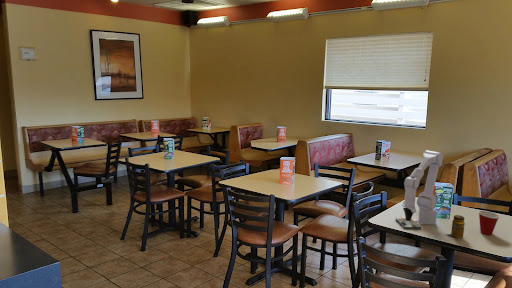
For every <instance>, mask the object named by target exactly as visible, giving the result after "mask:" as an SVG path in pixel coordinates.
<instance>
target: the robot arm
mask: <svg viewBox="0 0 512 288" xmlns="http://www.w3.org/2000/svg"><path fill="white" fill-rule="evenodd" d="M443 160H444V155H443V153H442V152H438V151H434V150H433V151H432V150H425V151H423V154H422V160H421V162H420V164H419V165H418V167H415V168H414V170H413V171H412V172H411V174H410V175H409V176H407V177H406V178H405V179H404V182H403V185H404V190H405V192H404V193H405V194H404V201H402V204H401V206H402V209H403V212H404V215H405V216H404V217H405V218H406V221H410V220H411V219H413V216H414V213H415V214H416V213H417V209H416V205H417V207H418V208H419V209H418V218H415V219H416V220H417V223H418V224H419V225H437V215H438V214H437V209H436V206H437V196H435V194H434V190H435V185H436V183H437V182H436V181H437V177H438V173H439V170H440V169H439V168H440V167H442V165H443ZM428 167H429V169H428V172H427V173H428V174H427V176H426V181H425V184H424V185H425V186H424V189H423V191H422V192H420V193H419V195H418V197H417V199H416V196H417V188H418V187H419V186H420V183H421V182H420V181H421V180H422V178H423V176H424V175H425V172H424V171H425V170H427V168H428Z"/></svg>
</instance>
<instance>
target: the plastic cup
mask: <svg viewBox="0 0 512 288" xmlns="http://www.w3.org/2000/svg"><path fill="white" fill-rule="evenodd" d="M500 218H501V216H500V214H497V213H496V212H492V211H488V210H478V219H479V229H480V230H479V231H480V234H482V235H485V236H492V235H493V233H494V230H495V229H496V228H495V227H496V226H497V222H498V220H499V219H500Z"/></svg>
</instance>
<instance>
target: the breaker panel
mask: <svg viewBox="0 0 512 288" xmlns="http://www.w3.org/2000/svg"><path fill="white" fill-rule="evenodd" d="M412 219H413V218H411V220H410V221H406V223H402V222H401V217H396V218H395V222H397V224H398V225H400V227H401V228H402V229H403V230H422V226H421V224H420V223H417V225H413V224H412Z"/></svg>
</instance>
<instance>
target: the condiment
mask: <svg viewBox="0 0 512 288" xmlns="http://www.w3.org/2000/svg"><path fill="white" fill-rule="evenodd" d="M464 230H465V216H463V215H459V214H458V215H457V214H456V215H454V216H453V220H452V224H451V232H450V233H444V235H445V236H446V237H447V238H449V239H451V240H467V238H466V237H464Z"/></svg>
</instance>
